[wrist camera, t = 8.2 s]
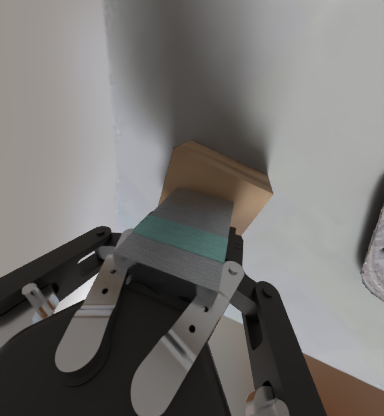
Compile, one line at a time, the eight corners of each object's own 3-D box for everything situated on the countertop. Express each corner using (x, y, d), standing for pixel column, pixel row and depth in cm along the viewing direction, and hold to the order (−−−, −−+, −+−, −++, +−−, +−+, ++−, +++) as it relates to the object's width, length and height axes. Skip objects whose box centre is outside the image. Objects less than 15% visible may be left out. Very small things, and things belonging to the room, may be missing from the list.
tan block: (191, 139, 17) (173, 147, 13) (267, 174, 17) (273, 194, 13) (171, 202, 22) (153, 222, 18) (228, 231, 22) (223, 258, 18)
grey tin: (177, 186, 14) (111, 251, 7) (234, 201, 13) (219, 292, 6) (173, 229, 17) (123, 306, 10) (220, 244, 16) (199, 339, 9)
